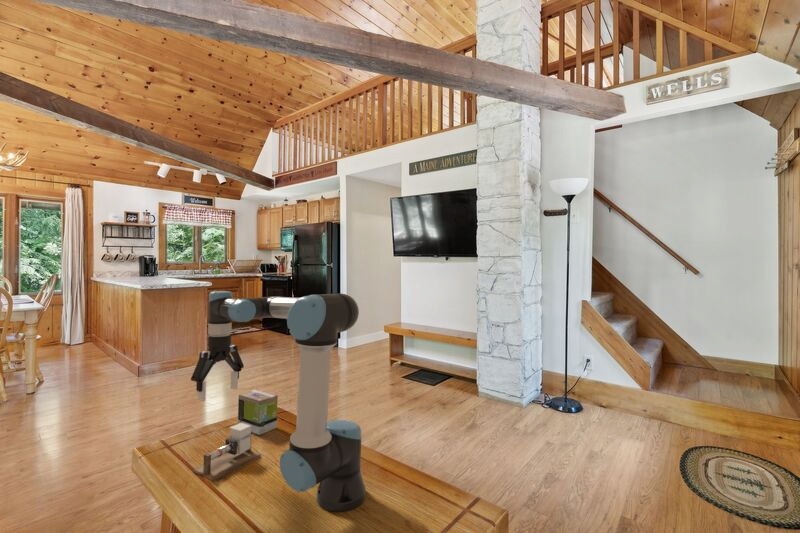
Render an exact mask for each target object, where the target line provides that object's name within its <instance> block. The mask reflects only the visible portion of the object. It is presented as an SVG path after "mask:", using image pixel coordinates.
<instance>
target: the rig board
mask: <svg viewBox="0 0 800 533" xmlns="http://www.w3.org/2000/svg"><path fill="white" fill-rule="evenodd" d="M261 456H262V454H261V453H259V452H256V451H253V450H252V446H251V447H250V449H248V450H247V451H245V452H243V453H241V454H238V448H237V454H235V455H232V454H230V453H225V454H223V455H221V456H220V457H218V458H215V459H213V460H211V455H210V454H209V453H205V454H203V464H201V465H199V466H197V467H195V468H193V469H192V470H193V472H192V473H193V474H196V473H197V474H196V475H199V476H201V475H202V476H201V477H204V476H205V477H204V478H206V477H207V479H209V478H210V479H209V480H211V479H212V480H211V481H214V482H219V481H220V480H222V479H224V478H226V477H228V476H230V475H232V474H233V473H235V472H237V471H238V470H241V468H243V467H246V466H247V465H249V464H251V463H252V462H254V461H256V460H257V459H260V458H261Z"/></svg>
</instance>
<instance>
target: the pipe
mask: <svg viewBox="0 0 800 533" xmlns="http://www.w3.org/2000/svg"><path fill="white" fill-rule="evenodd" d="M237 447H238V441H237ZM231 450H233V443H230V444H228V445H226V446H225V445H224V446H221V447H220V448H215V449H214V450H213V451H211V452H209V453H208V454H210V455H211V460H213V459H215V458H218V457H220V456H221V455H223V454H225V453H227V452H229V451H231Z"/></svg>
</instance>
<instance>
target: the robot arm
mask: <svg viewBox="0 0 800 533" xmlns="http://www.w3.org/2000/svg"><path fill="white" fill-rule="evenodd" d="M208 296H209V297H208V303H207V304H208V324H207V327H208V328H207V330H208V331H207V334H208V336H207V346H208V351H205V350H203V351H200V353H199V358H198V361H197V363H196V365H195V368H194V369H193V370H194V371H193V373H192V376H191V377H190V381H192V382H196V392H197V401H201V402H205V401H206V392H207V391H206V387H207V386H206V385H207V382H206V381H205V379H206V378H207V376H208V375H209V373H210V371H211V370H212V368H213V366H214V365H216V363H219V362H223V361H225V362H226V364H227V365H229V367H230V369H231V370H230V389H231V390H234V391H235V390H238V389H239V388H238V383H239V382H238V380H240V372H241V371H242V369H244V367H245V365H244V363H243V360H242V358H241V355H240V354H239V351H238V345H237V344H236V345H235V344H232V335H231V334H232V331H233V330H232V323H233V322H232V321H234V322H237V323H243V322H244V323H246V322H247V323H248V322H250V321H251V320H255V319H256V320H257V319H264V318H265V319H266V318H271V319H272V318H273V319H274V318H275V319H285V320H286V324H287V328H288V329H289V334H290V335H291V336H292V337H293V339H295V340H294V341H295V343H294V344H296V346H298V347H299V349H300V350H299V352H300V353H299V366H298V367H299V368H298V369H299V370H298V386H297V387H298V388H297V404H296V405H297V406H296V424H295V431H293V433H292V434H290V437H289V448H288V449H287V450H286V449H285V451H284V452H283V453H281V455H280V458H279V469H280V473H281V475H282V478H283V480H284V481H285V483H286V484H287V485H288V487H290V489H292V490H294V491H296V492H298V493H303V492H307V491H308V490H310V489H313V488H315V487H316V485H318V487H317V489H316V502H317V504H318V505H319V506H320V507H321V508H322V509H324V510H326V511H329V512H334V513H338V512H340V513H341V512H347V511H352V510H353V509H356V508H357V507H359V506H360V505H362V504H363V502H364V501H365V498H366V486H365V484H364V479H363V476H362V473H361V462H362V460H361V456H362V455H361V453H362V438H363V437H362V429H361V426H360V425H359V424H358V423H356V422H354V421H351V420H346V419H345V420H344V419H337V420H336V419H335V420H329V421H328V415H329V414H328V413H329V410H328V409H329V396H330V380H331V378H330V377H331V360H332V359H331V358H332V349H333V348H334V347H335V346H336V345H337V344H338V335H339V334H340V333H343V332H345V331H348V330H350V329H351V328H352V327H354V325H355V324H356V323H357V321H358V319H359V313H360V312H359V306H358V303H357V301H356V300H355V299H354V298H353V297H352V296H351V295H348V294H346V293H325V294H324V293H323V294H322V293H321V294H310V295H304V296H302V297H294V296H293V297H290V296H289V297H288V296H287V297H286V296H275V295H274V296H273V295H272V296H271V295H270V296H263V297H262V296H261V297H248V298H247V297H244V298H243V297H242V298H234V297H233V293H232V291H228V290H227V291H226V290H219V291H218V290H216V291H215V290H214V291H210V292H209V295H208ZM338 333H339V334H338Z"/></svg>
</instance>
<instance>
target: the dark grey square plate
mask: <svg viewBox="0 0 800 533" xmlns="http://www.w3.org/2000/svg"><path fill="white" fill-rule="evenodd" d="M224 441H225V445H224V446H226V445H228V444H229V442H230V443H233V451H232V450H231V451H229V452H227V453H230V454H232V455H235V454H237V441H236V440H232V439H230V437H228V438H225V440H224Z"/></svg>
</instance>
